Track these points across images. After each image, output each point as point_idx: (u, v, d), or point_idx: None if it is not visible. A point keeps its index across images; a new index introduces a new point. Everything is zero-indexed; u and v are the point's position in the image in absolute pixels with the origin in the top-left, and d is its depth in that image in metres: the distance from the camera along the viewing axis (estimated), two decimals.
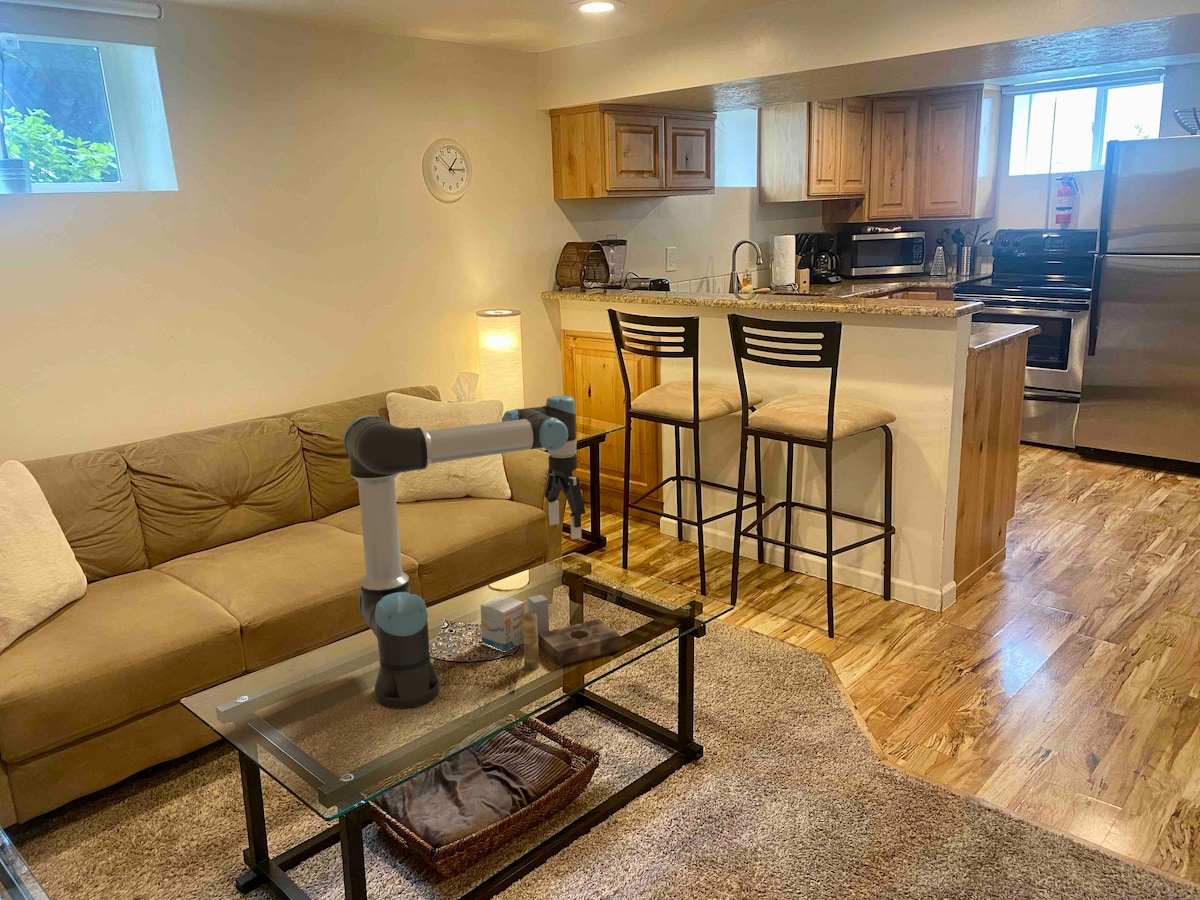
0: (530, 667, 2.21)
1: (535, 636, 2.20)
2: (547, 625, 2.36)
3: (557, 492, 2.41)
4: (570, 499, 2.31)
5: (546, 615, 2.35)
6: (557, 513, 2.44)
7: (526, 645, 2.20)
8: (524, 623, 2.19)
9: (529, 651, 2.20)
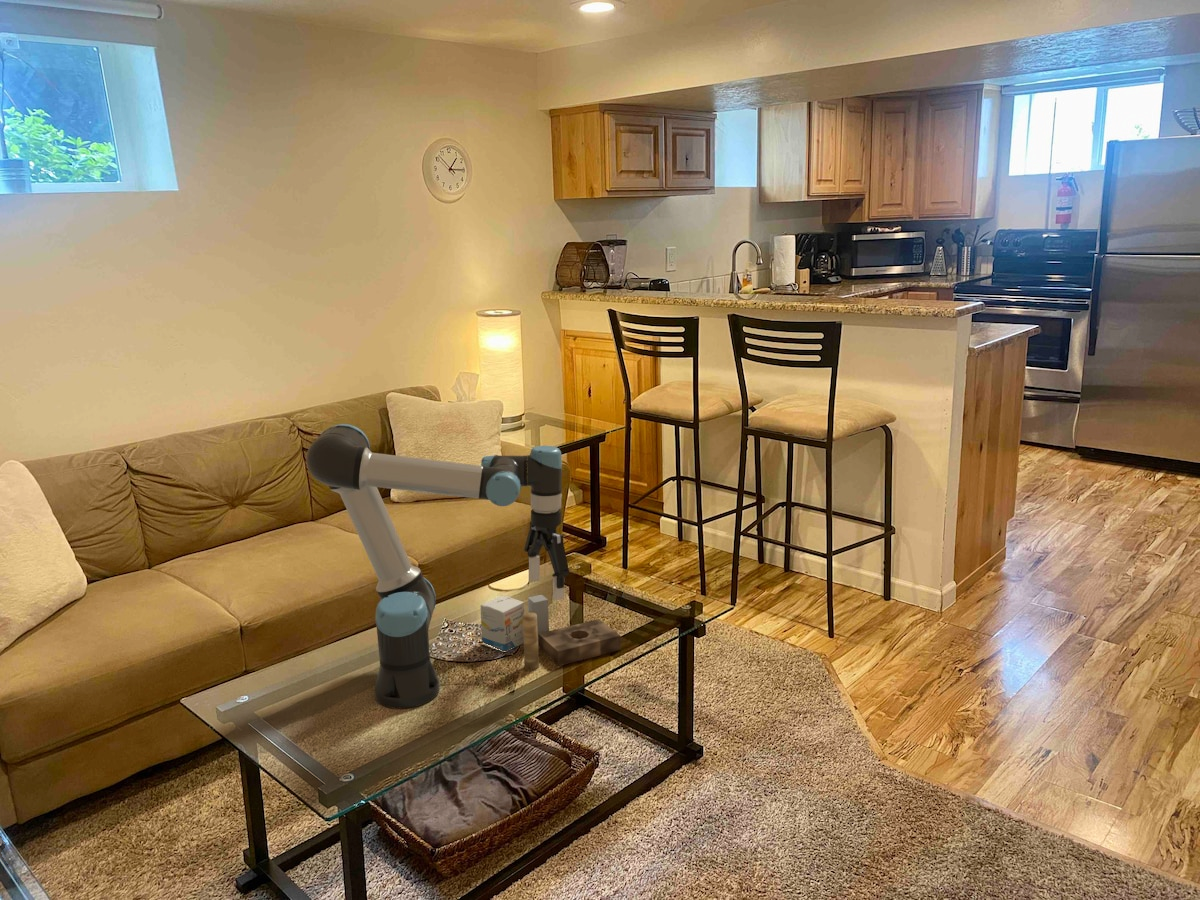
0: (530, 667, 2.21)
1: (535, 636, 2.20)
2: (547, 625, 2.36)
3: (538, 547, 2.25)
4: (553, 558, 2.15)
5: (546, 615, 2.35)
6: (538, 569, 2.28)
7: (526, 645, 2.20)
8: (524, 623, 2.19)
9: (529, 651, 2.20)
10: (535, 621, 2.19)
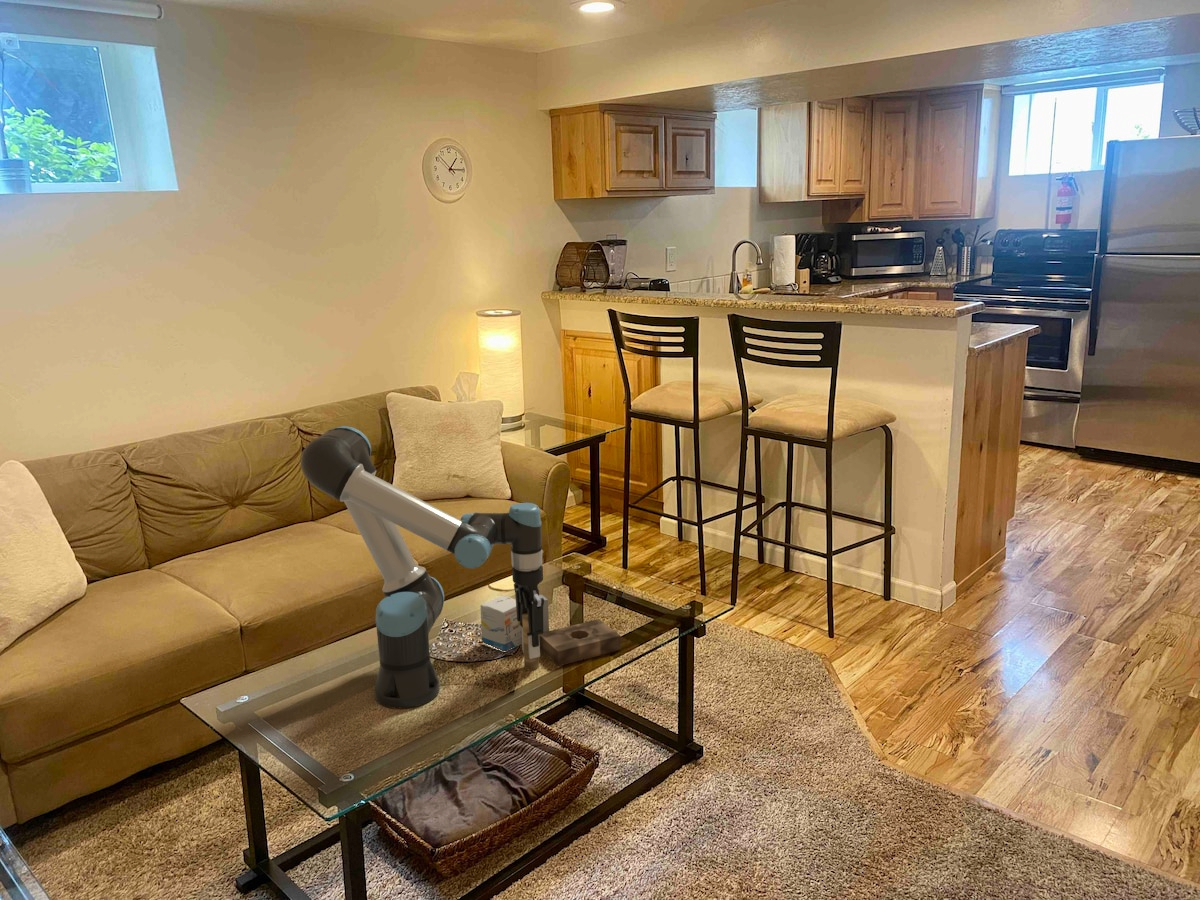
0: (530, 667, 2.21)
1: None
2: (547, 625, 2.36)
3: None
4: (531, 618, 2.17)
5: (546, 615, 2.35)
6: None
7: (526, 645, 2.20)
8: (524, 623, 2.19)
9: None
10: None
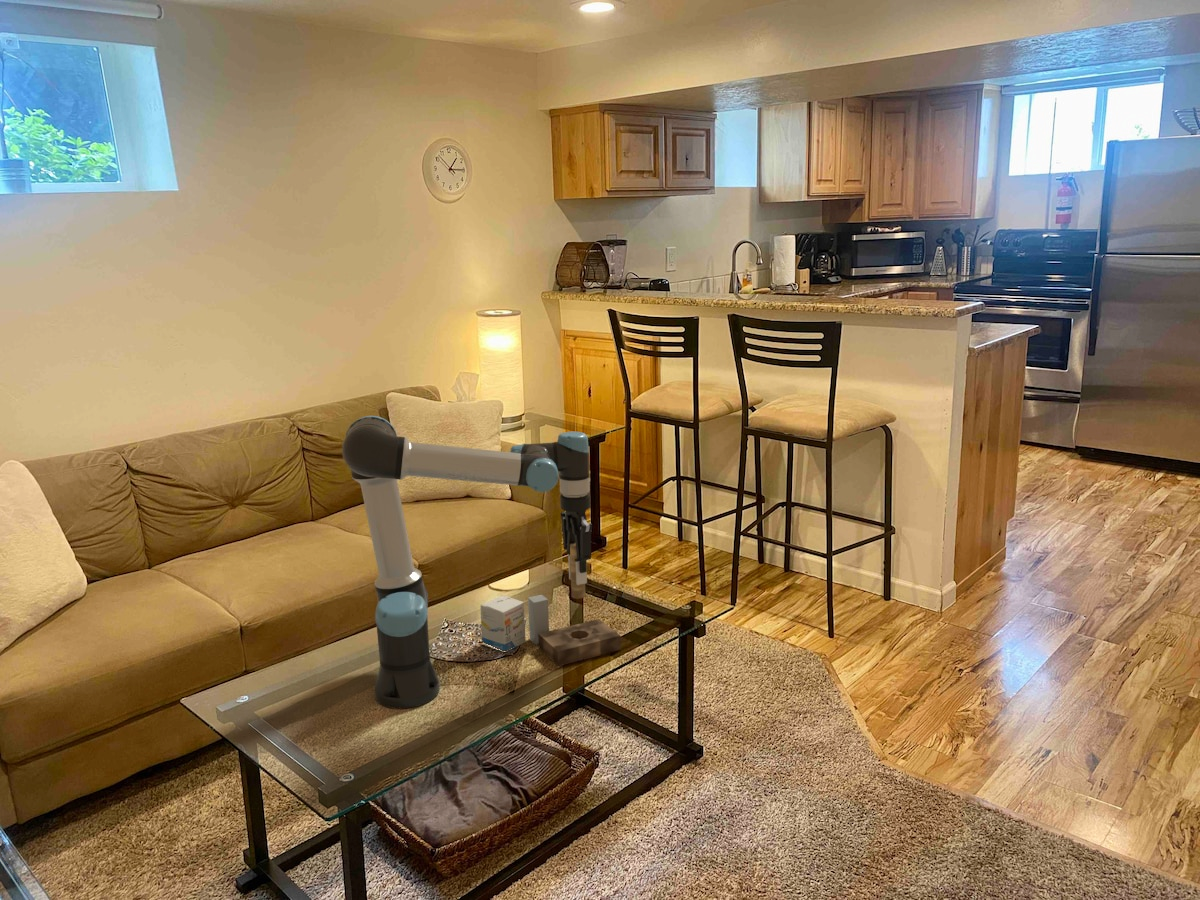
0: (577, 595, 2.27)
1: None
2: (547, 625, 2.36)
3: (575, 539, 2.27)
4: (578, 544, 2.23)
5: (546, 615, 2.35)
6: None
7: (574, 574, 2.26)
8: (572, 552, 2.25)
9: None
10: None
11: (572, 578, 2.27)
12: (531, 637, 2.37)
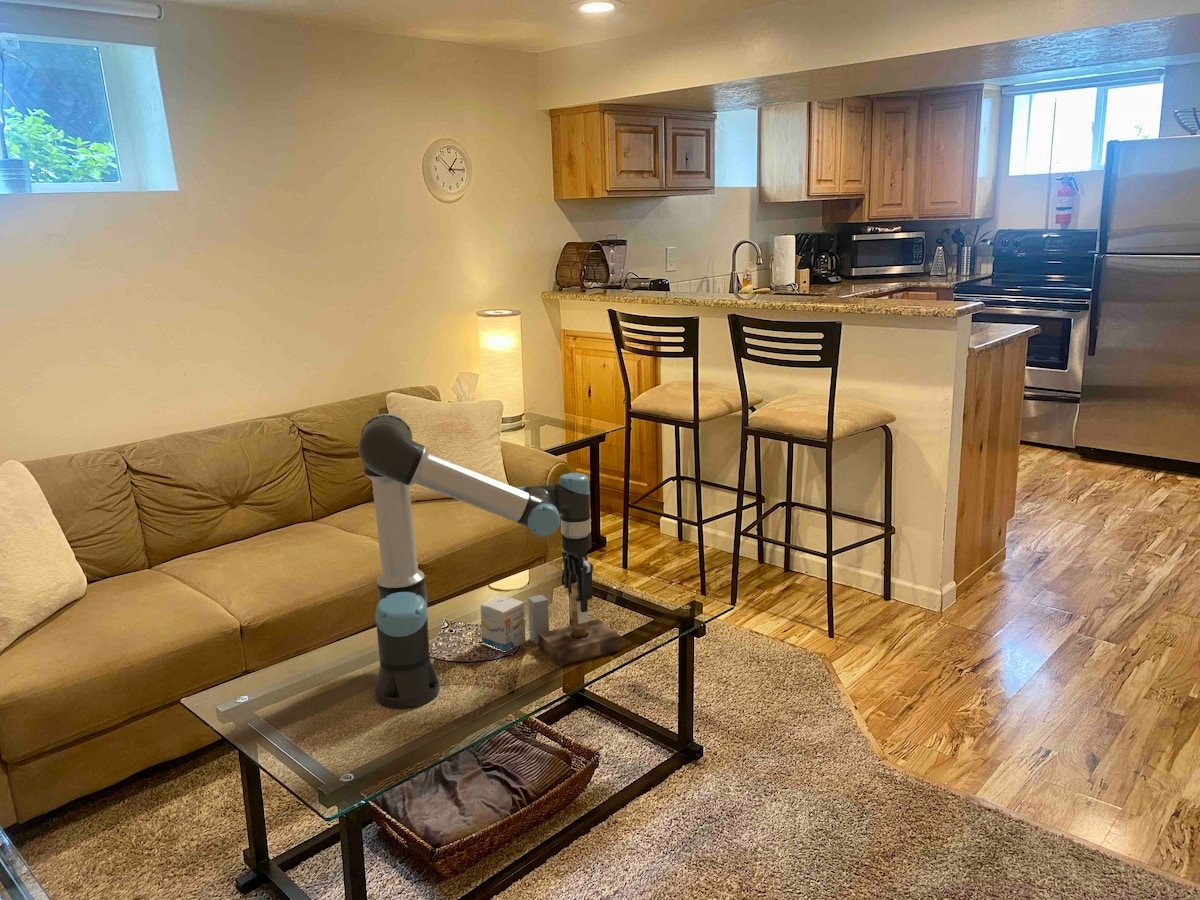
0: (579, 634, 2.30)
1: None
2: (547, 625, 2.36)
3: (576, 578, 2.30)
4: (580, 584, 2.25)
5: (546, 615, 2.35)
6: None
7: (575, 613, 2.29)
8: (573, 591, 2.27)
9: None
10: None
11: (573, 617, 2.29)
12: (531, 637, 2.37)
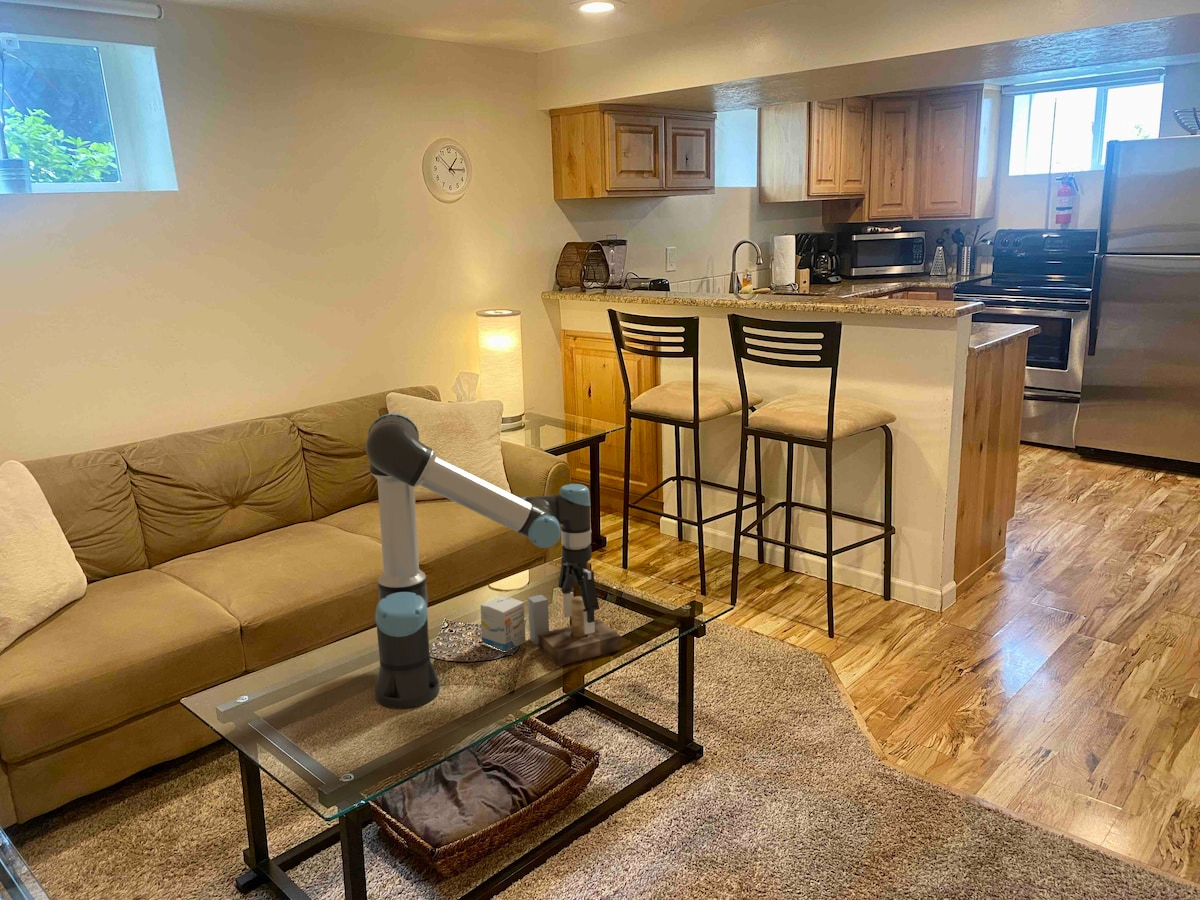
0: None
1: (583, 619, 2.29)
2: (547, 625, 2.36)
3: (571, 583, 2.33)
4: (584, 593, 2.23)
5: (546, 615, 2.35)
6: None
7: (575, 628, 2.29)
8: (573, 606, 2.28)
9: (578, 633, 2.30)
10: None
11: (573, 632, 2.30)
12: (531, 637, 2.37)
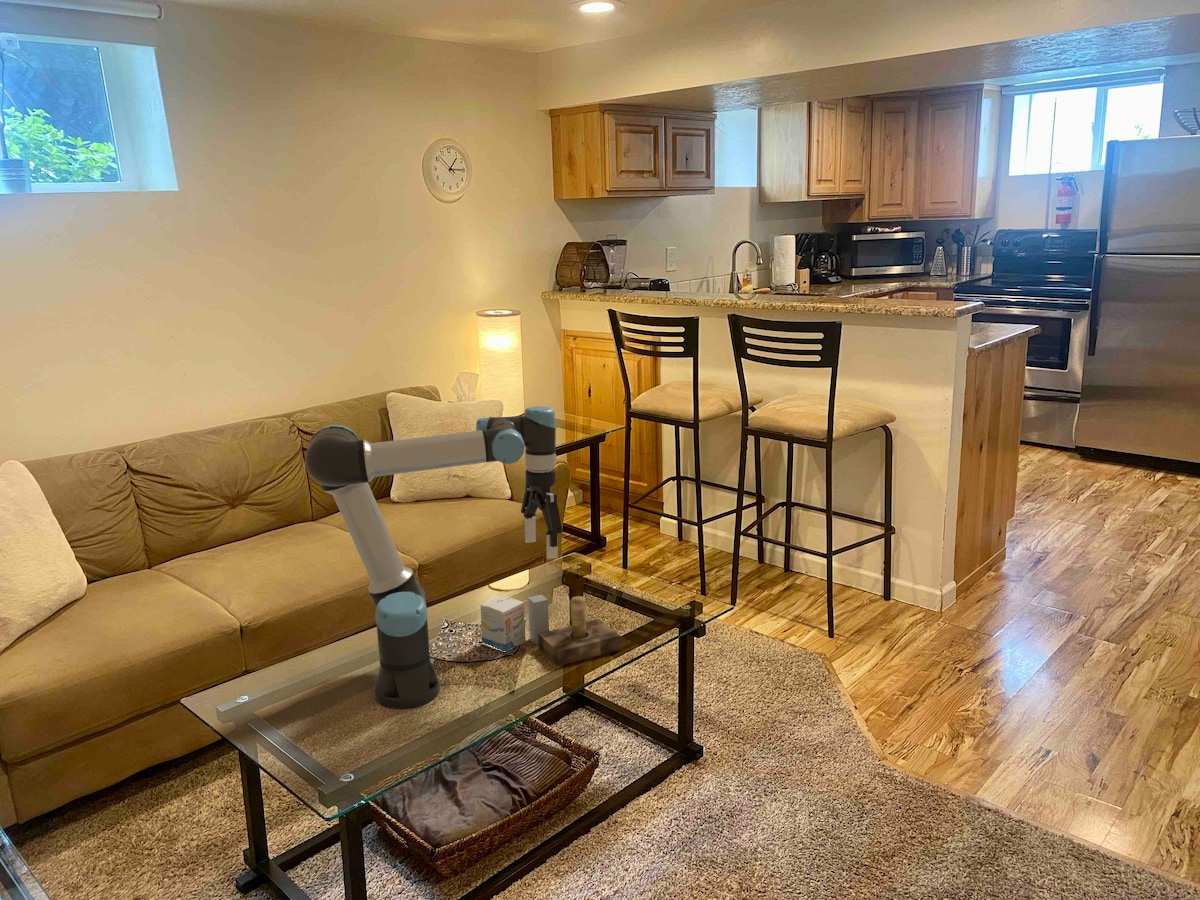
0: None
1: (583, 619, 2.29)
2: (547, 625, 2.36)
3: (534, 508, 2.28)
4: (547, 516, 2.18)
5: (546, 615, 2.35)
6: (534, 530, 2.31)
7: (575, 628, 2.29)
8: (573, 606, 2.28)
9: (578, 633, 2.30)
10: (584, 604, 2.29)
11: (573, 632, 2.30)
12: (531, 637, 2.37)
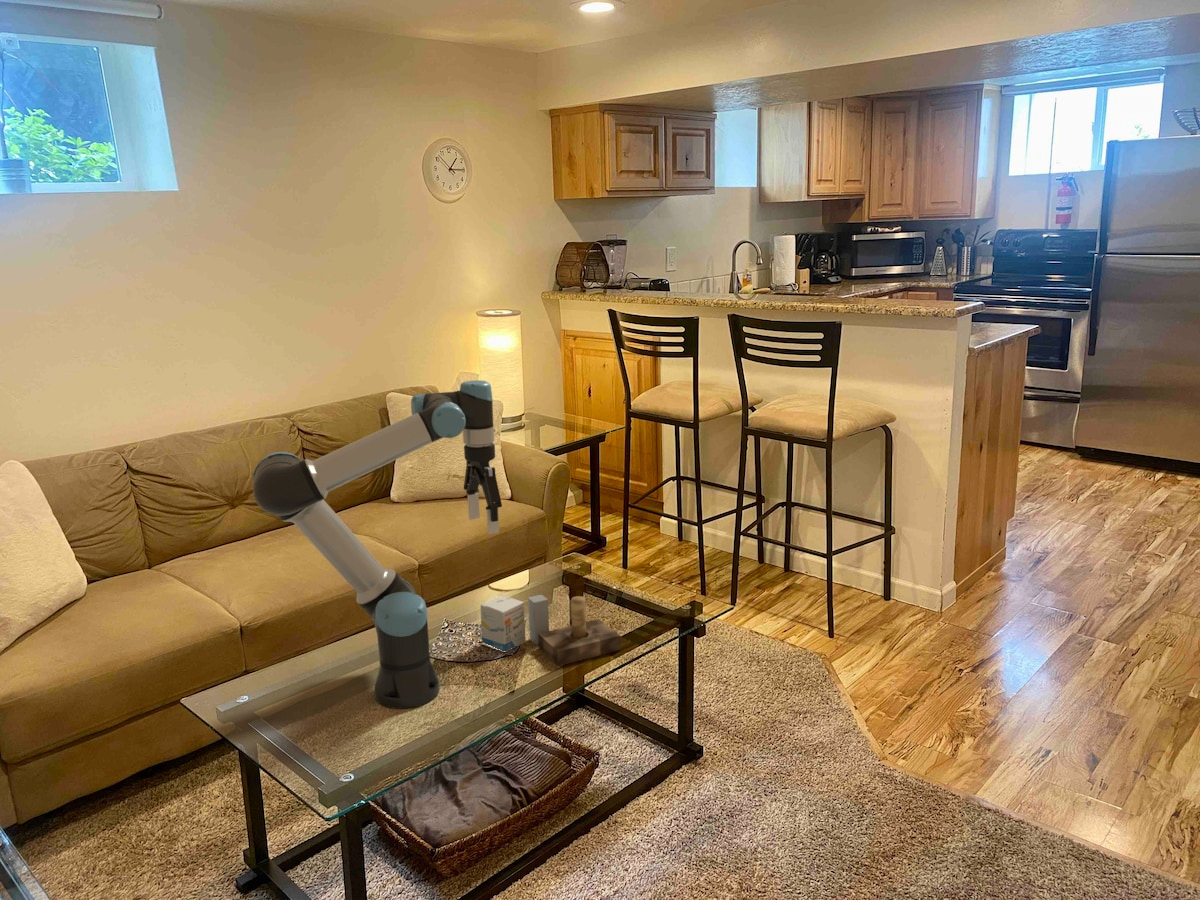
0: None
1: (583, 619, 2.29)
2: (547, 625, 2.36)
3: (476, 484, 2.26)
4: (486, 491, 2.16)
5: (546, 615, 2.35)
6: (477, 506, 2.29)
7: (575, 628, 2.29)
8: (573, 606, 2.28)
9: (578, 633, 2.30)
10: (584, 604, 2.29)
11: (573, 632, 2.30)
12: (531, 637, 2.37)
